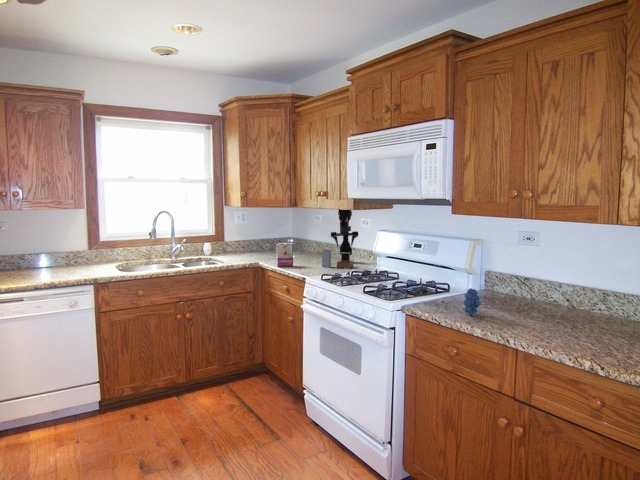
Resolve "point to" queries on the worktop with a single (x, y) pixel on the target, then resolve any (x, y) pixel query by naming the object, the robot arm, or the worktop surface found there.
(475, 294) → the grapes
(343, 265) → the wooden crate
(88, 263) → the worktop surface
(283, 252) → the candy bar box
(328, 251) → the small plastic crate
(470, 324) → the worktop surface
